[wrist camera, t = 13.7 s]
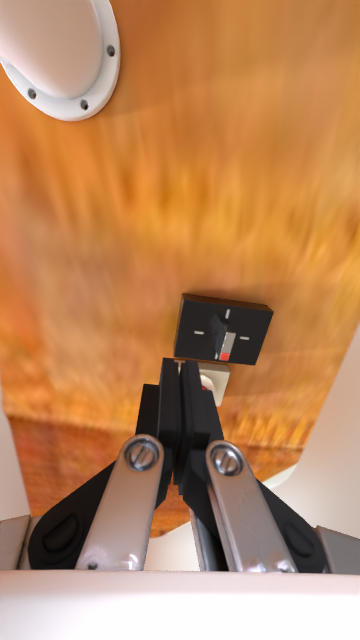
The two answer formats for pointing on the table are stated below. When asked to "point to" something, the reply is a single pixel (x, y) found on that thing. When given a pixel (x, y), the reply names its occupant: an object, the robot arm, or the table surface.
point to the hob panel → (204, 322)
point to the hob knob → (224, 341)
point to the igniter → (213, 378)
